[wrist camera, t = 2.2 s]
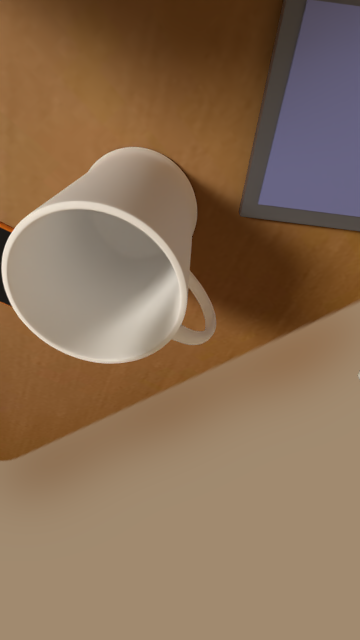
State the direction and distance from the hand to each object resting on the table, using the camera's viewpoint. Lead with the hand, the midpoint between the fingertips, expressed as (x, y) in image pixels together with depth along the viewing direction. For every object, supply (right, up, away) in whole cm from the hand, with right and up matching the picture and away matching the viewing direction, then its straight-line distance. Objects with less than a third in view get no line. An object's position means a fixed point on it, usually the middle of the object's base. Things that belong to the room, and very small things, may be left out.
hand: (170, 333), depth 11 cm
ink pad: (+11, +12, +9) cm, 19 cm away
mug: (-2, +8, +14) cm, 16 cm away
